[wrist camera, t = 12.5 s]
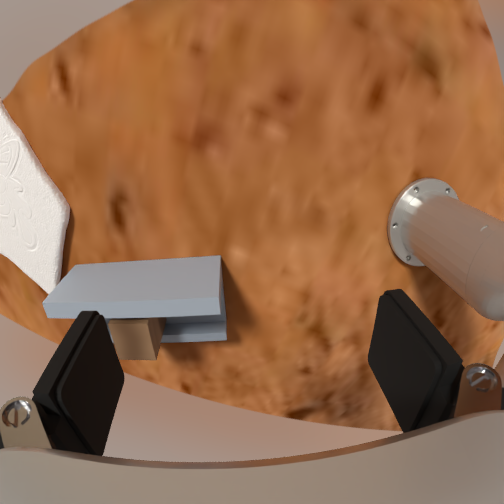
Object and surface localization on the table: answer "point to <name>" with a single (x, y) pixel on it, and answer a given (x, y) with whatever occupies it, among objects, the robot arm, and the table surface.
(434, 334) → the robot arm
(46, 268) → the flat white fragment
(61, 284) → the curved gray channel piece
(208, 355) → the table surface
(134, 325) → the brown block
